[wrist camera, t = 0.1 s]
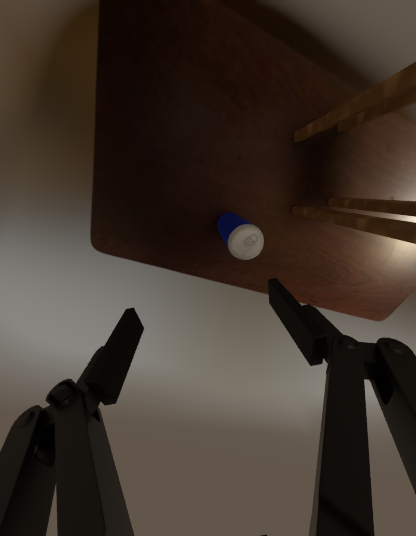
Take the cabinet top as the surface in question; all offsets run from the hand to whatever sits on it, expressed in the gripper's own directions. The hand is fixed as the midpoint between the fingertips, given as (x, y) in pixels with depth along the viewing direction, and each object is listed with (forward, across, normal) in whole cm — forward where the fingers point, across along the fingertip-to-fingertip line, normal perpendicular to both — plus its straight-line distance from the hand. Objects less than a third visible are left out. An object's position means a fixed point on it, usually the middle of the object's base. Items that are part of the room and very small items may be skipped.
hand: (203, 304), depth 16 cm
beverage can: (+24, +7, +2) cm, 25 cm away
